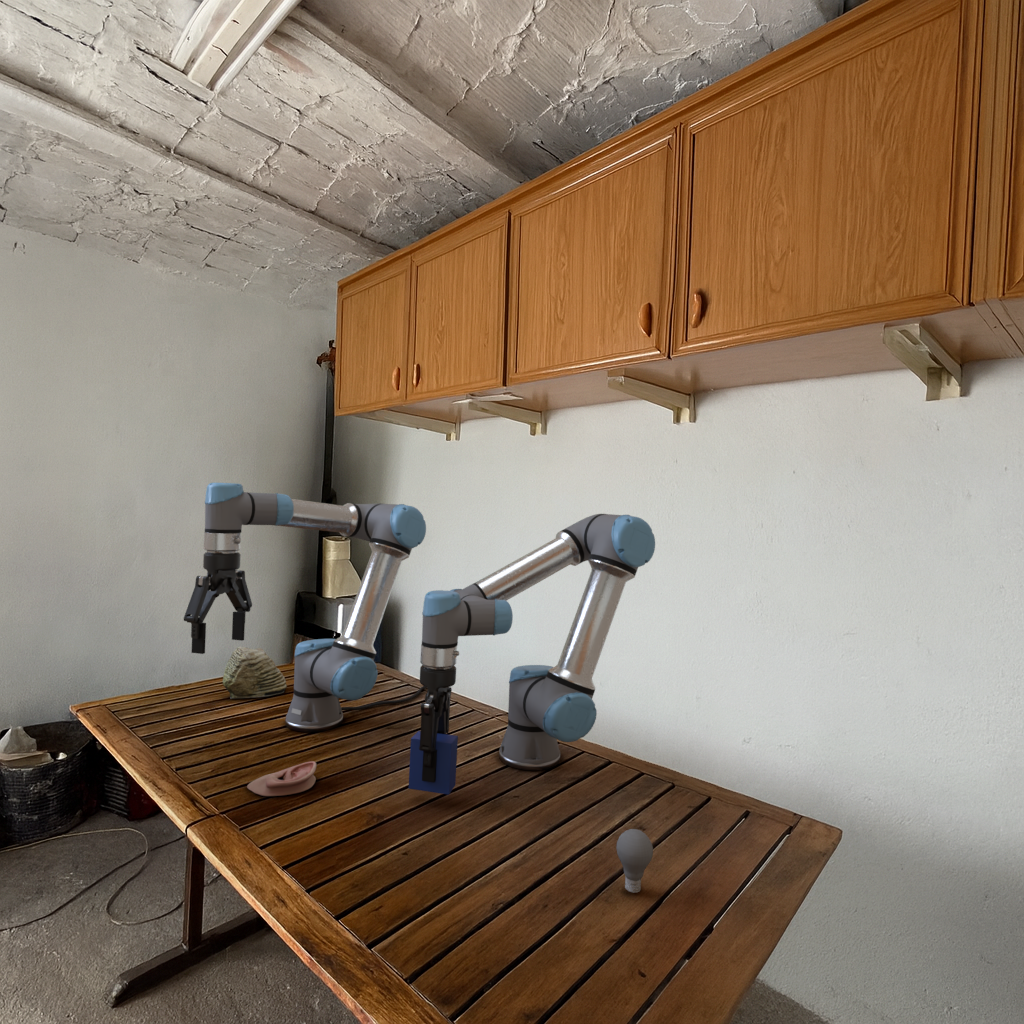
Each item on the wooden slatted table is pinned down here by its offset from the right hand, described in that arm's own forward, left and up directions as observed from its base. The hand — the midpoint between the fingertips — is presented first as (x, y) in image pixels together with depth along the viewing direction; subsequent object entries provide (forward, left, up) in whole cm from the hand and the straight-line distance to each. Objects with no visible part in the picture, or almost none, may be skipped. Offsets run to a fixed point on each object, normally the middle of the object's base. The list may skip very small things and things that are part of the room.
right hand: (432, 775), depth 133 cm
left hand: (+25, -45, +23) cm, 56 cm away
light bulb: (-3, +46, -6) cm, 46 cm away
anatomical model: (+18, -29, -6) cm, 34 cm away
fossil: (-9, -91, -6) cm, 91 cm away
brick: (0, 0, -3) cm, 3 cm away
